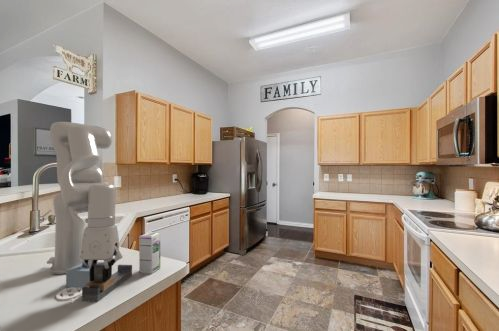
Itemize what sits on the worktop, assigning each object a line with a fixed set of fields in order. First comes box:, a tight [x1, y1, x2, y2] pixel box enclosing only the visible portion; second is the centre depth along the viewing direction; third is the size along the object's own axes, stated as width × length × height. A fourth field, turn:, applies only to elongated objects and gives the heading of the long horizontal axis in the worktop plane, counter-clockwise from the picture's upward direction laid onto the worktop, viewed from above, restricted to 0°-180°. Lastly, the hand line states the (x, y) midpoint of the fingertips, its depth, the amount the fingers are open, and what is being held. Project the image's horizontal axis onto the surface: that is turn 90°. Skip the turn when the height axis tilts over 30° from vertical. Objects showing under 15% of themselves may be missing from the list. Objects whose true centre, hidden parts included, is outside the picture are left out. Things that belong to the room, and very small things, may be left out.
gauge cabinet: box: [65, 261, 104, 289], centre depth 82 cm, size 8×8×6 cm
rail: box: [81, 264, 133, 303], centre depth 79 cm, size 5×18×4 cm, turn 176°
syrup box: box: [138, 231, 161, 275], centre depth 93 cm, size 6×6×14 cm
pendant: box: [55, 287, 82, 304], centre depth 73 cm, size 7×11×1 cm, turn 44°
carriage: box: [86, 263, 114, 291], centre depth 75 cm, size 6×5×7 cm
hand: (100, 278), depth 74 cm, fingers closed on carriage, 3 cm apart
